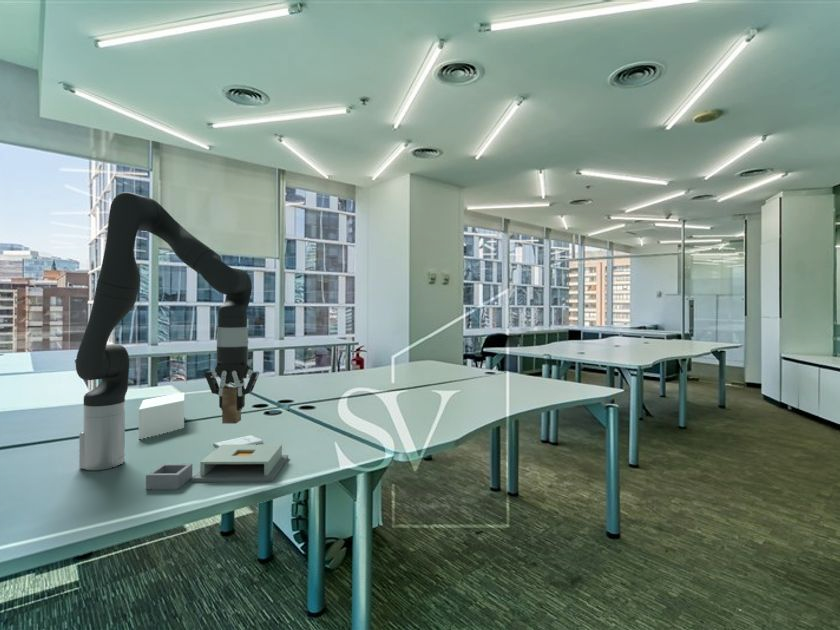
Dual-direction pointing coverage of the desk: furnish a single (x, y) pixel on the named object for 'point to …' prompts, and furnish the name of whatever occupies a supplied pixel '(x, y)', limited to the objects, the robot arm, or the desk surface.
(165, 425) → the white rectangular box
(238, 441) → the external hard drive
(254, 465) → the grey box with hole
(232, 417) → the brown block
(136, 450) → the desk surface
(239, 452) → the breaker button
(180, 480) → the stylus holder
